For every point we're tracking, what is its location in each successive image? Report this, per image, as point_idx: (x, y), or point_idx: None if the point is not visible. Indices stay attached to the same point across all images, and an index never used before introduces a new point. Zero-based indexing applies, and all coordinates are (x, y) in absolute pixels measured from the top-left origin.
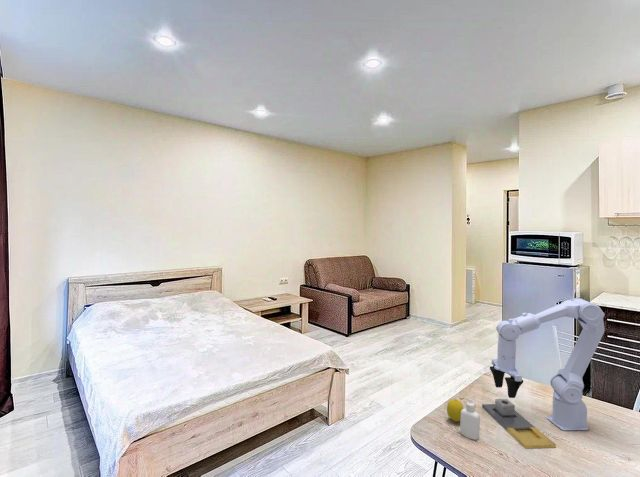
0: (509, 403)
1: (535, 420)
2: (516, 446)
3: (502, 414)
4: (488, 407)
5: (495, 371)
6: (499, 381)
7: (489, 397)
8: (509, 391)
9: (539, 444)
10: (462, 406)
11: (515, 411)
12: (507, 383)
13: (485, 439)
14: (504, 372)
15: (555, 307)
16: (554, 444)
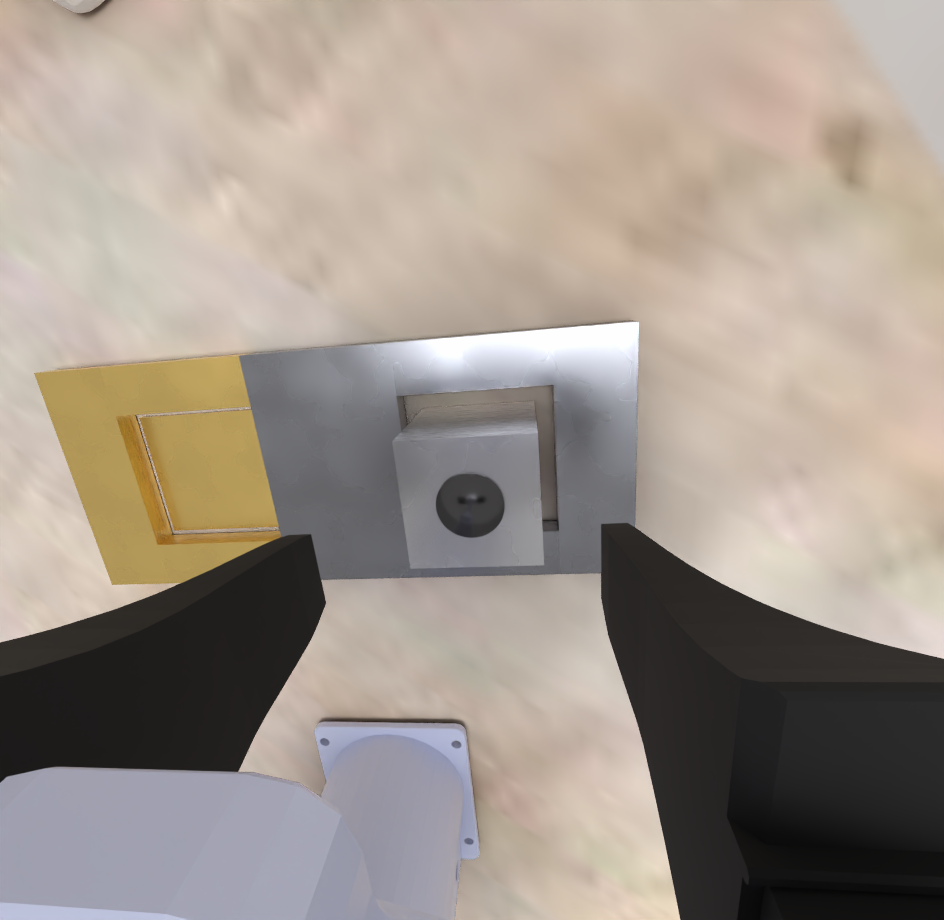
0: (446, 538)
1: (427, 642)
2: (64, 319)
3: (414, 418)
4: (574, 360)
5: (705, 722)
6: (622, 624)
7: (810, 490)
8: (204, 573)
9: (76, 481)
10: None
11: (504, 567)
12: (84, 637)
13: (81, 81)
14: (681, 894)
15: None
16: (110, 576)
